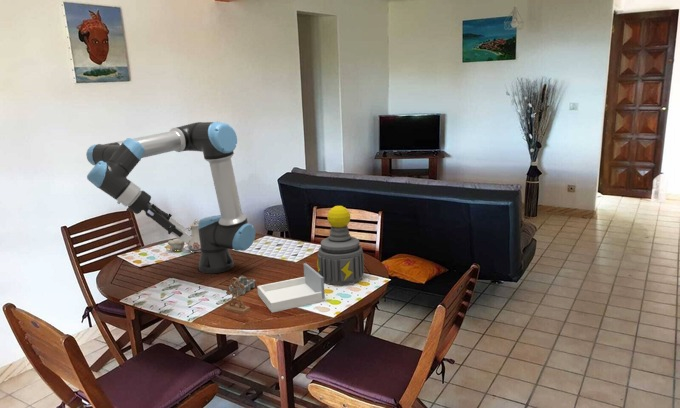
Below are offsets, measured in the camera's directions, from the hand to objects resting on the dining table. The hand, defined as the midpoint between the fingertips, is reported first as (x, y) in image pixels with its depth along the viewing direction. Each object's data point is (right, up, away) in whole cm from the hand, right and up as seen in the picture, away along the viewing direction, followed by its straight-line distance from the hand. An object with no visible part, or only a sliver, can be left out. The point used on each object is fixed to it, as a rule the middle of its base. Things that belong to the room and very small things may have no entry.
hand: (186, 235), depth 173 cm
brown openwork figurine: (+17, -27, +5) cm, 32 cm away
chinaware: (-18, -12, +76) cm, 79 cm away
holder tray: (+35, -24, +13) cm, 44 cm away
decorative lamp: (+54, -19, +31) cm, 65 cm away
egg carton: (+15, -23, +22) cm, 36 cm away
